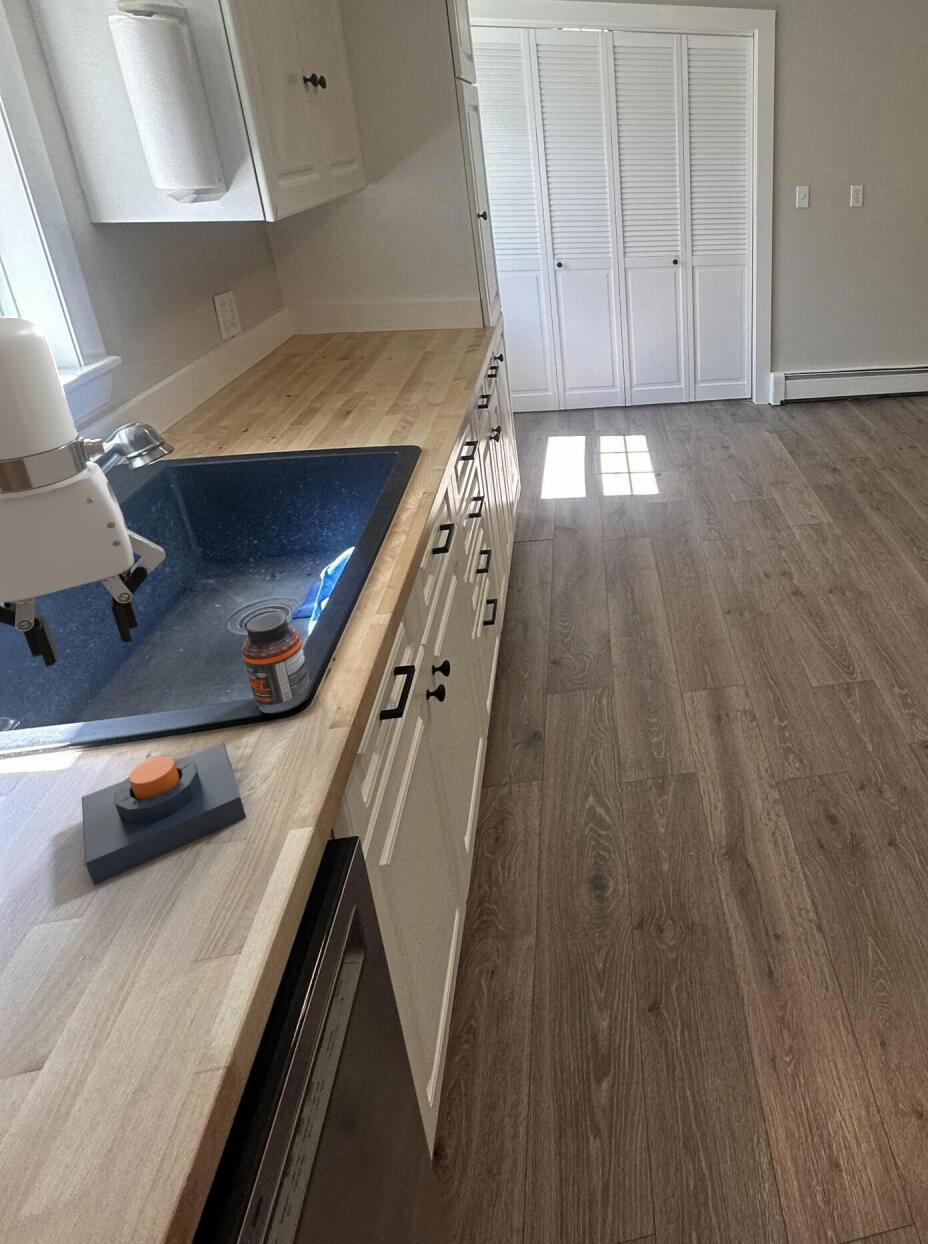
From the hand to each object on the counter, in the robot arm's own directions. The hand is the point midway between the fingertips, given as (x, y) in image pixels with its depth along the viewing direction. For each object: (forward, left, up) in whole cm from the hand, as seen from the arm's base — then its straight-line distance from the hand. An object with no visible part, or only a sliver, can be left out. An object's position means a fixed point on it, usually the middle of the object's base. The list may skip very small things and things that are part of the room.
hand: (89, 645), depth 73 cm
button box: (+3, -2, -19) cm, 20 cm away
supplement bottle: (+8, +15, -20) cm, 26 cm away
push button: (+3, -2, -15) cm, 16 cm away
